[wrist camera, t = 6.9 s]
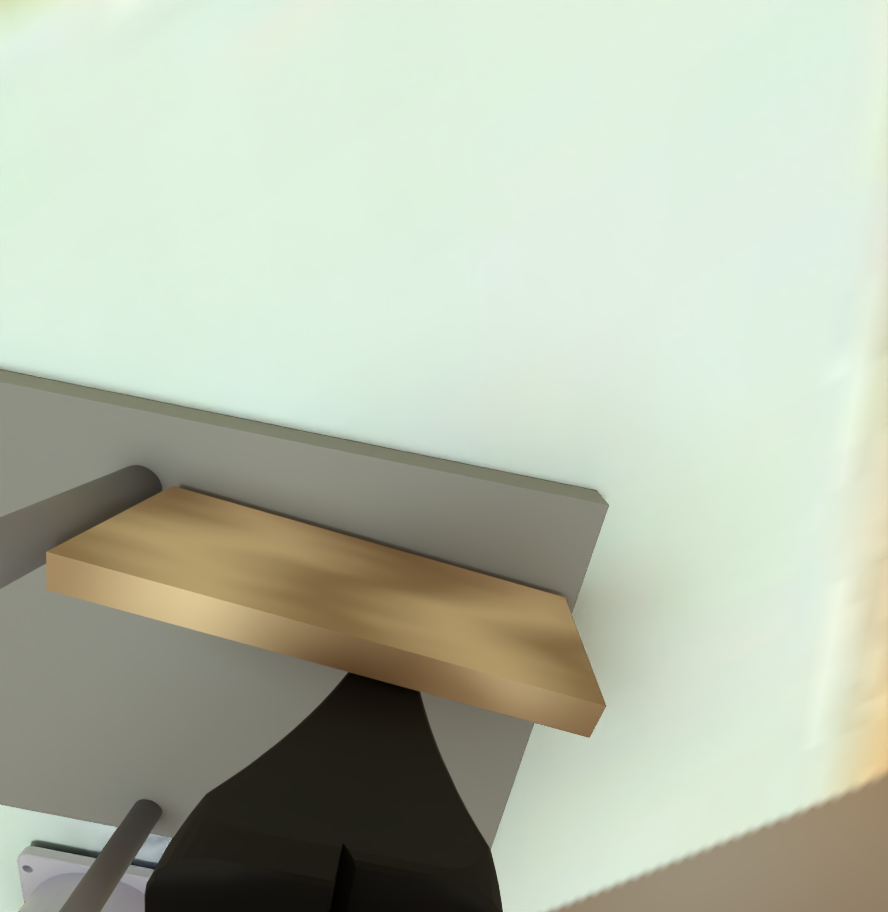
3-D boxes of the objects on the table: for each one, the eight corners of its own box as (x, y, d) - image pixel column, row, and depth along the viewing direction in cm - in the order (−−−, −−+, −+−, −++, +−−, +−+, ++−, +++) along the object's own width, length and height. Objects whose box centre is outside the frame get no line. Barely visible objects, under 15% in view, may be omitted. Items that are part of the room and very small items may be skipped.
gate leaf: (565, 597, 13) (606, 706, 9) (554, 622, 13) (589, 737, 10) (172, 485, 13) (45, 551, 9) (169, 514, 13) (46, 589, 9)
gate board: (474, 862, 19) (478, 1077, 14) (-57, 759, 19) (-274, 936, 13) (596, 490, 14) (687, 598, 8) (-151, 339, 13) (-587, 343, 8)
